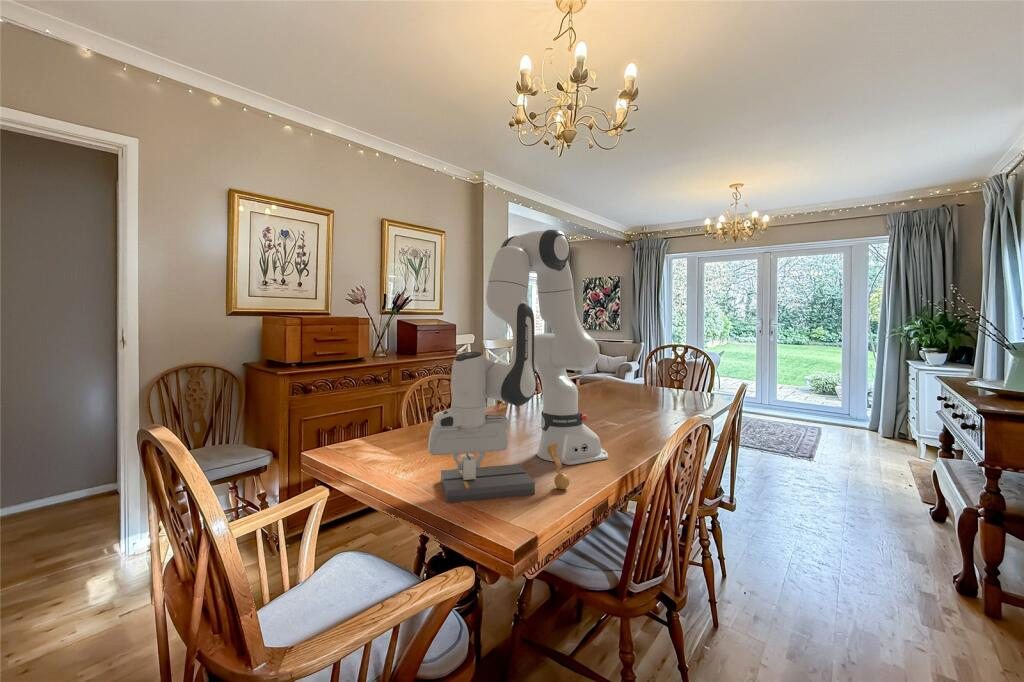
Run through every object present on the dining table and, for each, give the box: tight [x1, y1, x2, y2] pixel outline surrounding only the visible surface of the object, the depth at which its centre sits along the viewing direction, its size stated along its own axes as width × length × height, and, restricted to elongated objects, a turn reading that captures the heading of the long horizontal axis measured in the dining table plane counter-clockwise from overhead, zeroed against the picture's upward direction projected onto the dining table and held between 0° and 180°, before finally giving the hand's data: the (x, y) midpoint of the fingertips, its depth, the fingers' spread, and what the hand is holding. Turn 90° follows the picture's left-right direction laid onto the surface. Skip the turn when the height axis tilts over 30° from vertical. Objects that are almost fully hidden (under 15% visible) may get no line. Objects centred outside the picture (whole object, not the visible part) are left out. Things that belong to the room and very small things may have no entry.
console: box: [440, 463, 536, 504], centre depth 115 cm, size 22×14×3 cm, turn 105°
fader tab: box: [460, 453, 477, 480], centre depth 114 cm, size 3×4×7 cm, turn 15°
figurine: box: [547, 443, 570, 490], centre depth 115 cm, size 8×6×12 cm
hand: (468, 468), depth 114 cm, fingers closed on fader tab, 3 cm apart
